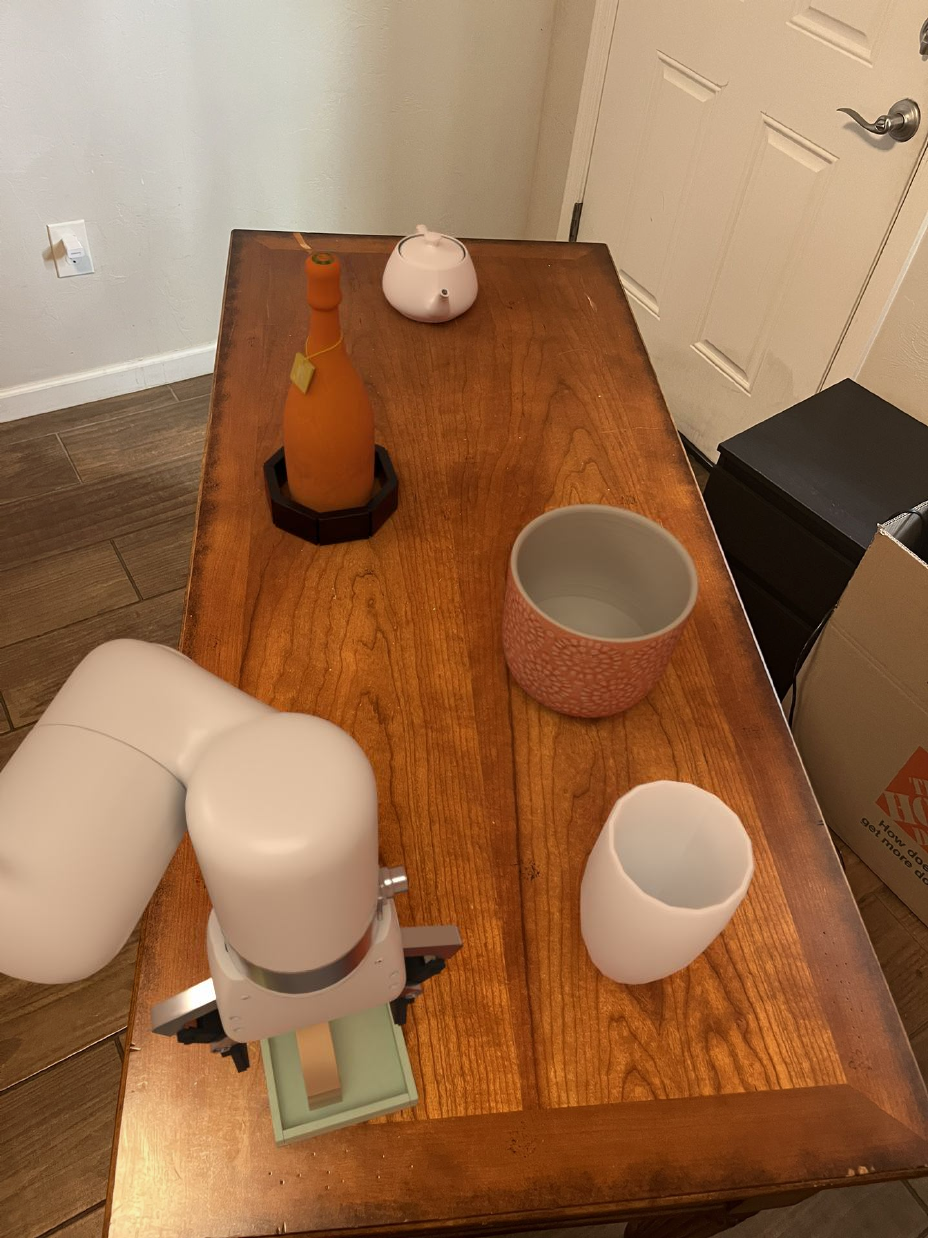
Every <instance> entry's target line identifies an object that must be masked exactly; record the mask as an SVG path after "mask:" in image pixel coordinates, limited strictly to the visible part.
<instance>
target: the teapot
mask: <svg viewBox="0 0 928 1238" xmlns="http://www.w3.org/2000/svg"><path fill="white" fill-rule="evenodd" d="M382 291H383V294H384V296H385V298H386V300H387V301H388V302H389V304H390V305H391V306H392V307H393V308H394V309H395V310H397V311H398V312H399V313H400V314H402V315H403V316H404V317H406V318H409V319H410V320H413V321H416V322H421V323H431V324H432V323H435V324H436V323H443V322H448V321H450V320H453V319H455V318H457V317H458V316H460V315H462V314H463V313H465V312H466V311H468V309H470V308H471V307H472V306H473V304H474V302H475V301H476V299H477V296H478V291H479V284H478V277H477V273H476V269H475V265H474V263H473V261H472V258H471V255H470V253H469V251H468V249H467V247H466V245H465V244H464V243H463V242H462V241H460V240H458V239H457V238H455V237H453V236H450V235H447V234H443V233H439V232H437V231H430V230H429V229H428V227H427V225H425V224H421V223H420V224H418V225H416V226H415V233H412V234H409V235H407V236H405V237H403V238H402V239H400V240H399V241H398V243H397V244H396V246H395V247H394V249H393V251H392V253H391V254H390V256H389V259H388V260H387V263H386V265H385V267H384V270H383V275H382Z"/></svg>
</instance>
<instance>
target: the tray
mask: <svg viewBox="0 0 928 1238" xmlns="http://www.w3.org/2000/svg"><path fill="white" fill-rule="evenodd" d="M328 1022H329V1027H330V1032H331V1037H332V1042H333V1047H334V1052H335V1057H336V1062H337V1067H338V1072H339V1077H340V1082H341V1088H342V1102H339V1103H336V1104H332V1105H329V1106H326V1107H322V1108H319V1109H316V1110H312V1111H310V1110H309V1105H308V1100H307V1094H306V1089H305V1083H304V1077H303V1072H302V1066H301V1061H300V1055H299V1049H298V1044H297V1038H296V1032H295V1031H292V1032H288V1033H285V1034H281V1035H277V1036H274V1037H270V1038H266V1039H262V1040H259V1045H260V1051H261V1059H262V1064H263V1069H264V1076H265V1082H266V1083H265V1084H266V1091H267V1096H268V1102H269V1110H270V1116H271V1122H272V1128H273V1135H274V1143H275V1145H276V1148H277V1149H279V1148H282V1147H285V1146H288V1145H293V1144H295V1143H299V1142H301V1141H305V1140H309V1139H312V1138H315V1137H318V1136H321V1135H324V1134H328V1133H332V1132H334V1131H337V1130H341V1129H344V1128H347V1127H350V1126H354V1125H357V1124H360V1123H364V1122H367V1121H370V1120H373V1119H377V1118H379V1117H384V1116H386V1115H390V1114H393V1113H396V1112H400V1111H403V1110H406V1109H409V1108H413V1107H416V1106H418V1103H419V1094H418V1091H417V1086H416V1082H415V1077H414V1073H413V1069H412V1066H411V1061H410V1058H409V1053H408V1050H407V1045H406V1041H405V1036H404V1032H403V1029H402V1025H401V1026H398V1024H396V1025H395V1024H394V1021H393V1016H392V1012H391V1008H390V1004H389V1002H388V1003H386V1004H383V1005H380V1006H377V1007H374V1008H371V1009H368V1010H364V1011H361V1012H358V1013H354V1014H351V1015H348V1016H344V1017H341V1018H337V1019H334V1020H331V1021H328Z"/></svg>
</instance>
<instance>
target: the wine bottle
mask: <svg viewBox="0 0 928 1238" xmlns="http://www.w3.org/2000/svg"><path fill="white" fill-rule="evenodd" d="M304 271H305V274H306V283H307V291H306V301H307V304H308V306H309V307H310V328H309V333H308V337H307V338H306V341H305V353H304V355H303V353H301V352H300V351H299V352H296V354H295V357H294V359H293V360H294V361H293V365H292V368H291V371H290V375H289V379H290V380H291V382H292V383H291V384H290V387H289V389H288V393H287V395H286V399H285V404H284V408H283V413H282V414H283V415H282V435H283V436H282V437H283V445H284V450H285V460H286V469H287V477H288V481H287V484H288V492H289V495H290V500H293V501H295V502H297V503H299V504H302V505H304V506H306V507H308V508H310V509H313V510H315V511H317V512H319V513H320V512H327V511H334V510H341V509H348V508H355V507H362V506H365V505H366V504H367V503H368V502H369V501H370V500H371V498H372V497H373V494H374V482H375V481H374V479H375V477H374V459H375V444H376V427H375V417H374V416H375V415H374V410H373V406H372V402H371V400H370V396H369V394H368V391H367V389H366V387H365V385H364V382H363V381H362V379H361V377H360V374H359V372H358V371H357V370H356V368H355V366H354V364H353V362H352V360H351V359H350V356H349V354H348V352H347V347H346V343H345V337H344V335H343V331H342V330H341V324H340V323H341V322H340V313H339V312H340V311H339V310H340V309H339V306H340V304H342V302H343V292H342V290H341V274H342V264H341V262H340V260H339V258H338V257H337V256H336V255H334V254H332V253H329V252H316V253H313V254H311V255H309V256H308V257H306V260H305V263H304Z"/></svg>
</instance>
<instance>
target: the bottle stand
mask: <svg viewBox="0 0 928 1238" xmlns="http://www.w3.org/2000/svg"><path fill="white" fill-rule="evenodd" d="M262 469H263V471H262V472H263V480H264V491H265V495H266V500H267V504H268V509H269V512H270V516H271V521H272V524H273V525H274V526H275V528H278V529H279V530H282V531H284V532H286V533H289V534H291V535H292V536H295V537H297V538H299V539H301V540H304V541H306V542H308V543H310V544H312V545H315V546H317V547H318V545H319V547H322V546H330V545H336V544H343V543H349V542H350V543H351V542H355V541H356V542H357V541H363V540H368V539H370V538H373V537H374V536H375V534H376V533H377V532H378V531H379V530H380V529H381V528H382V526H384V524H385V523H386V522H387V521H388V520H389V519H390V518H391V516H392V515H394V514H395V512H396V511H397V510H398V506H399V488H400V487H399V483H400V480H399V478H398V475H397V472H396V469H395V467H394V463H393V462H392V459H391V456H390V454H389V451H388V449H386V447H384V446H382V445H380V444H377V443H375V459H374V478H376V479H377V481H378V483H379V487H380V489H379V490H378V491H377V492H376V493H375V494H374V495H372V498H371V500H370V501H369V502H368V503H367V504H366V505H365V506H362V507H355V508H348V509H341V510H334V511H327V512H320V513H319V512H317V511H315V510H313V509H310V508H308V507H306V506H304V505H302V504H299V503H297V502H295V501H293V500H291V498H288V497H286V496H284V495H282V493H281V488H282V487H283V486H284V485H285V484H286V483H288V477H287V469H286V460H285V450H284V444H283V445H282V446H281V447H280V448H278V450H277V451H276V452H275V453H273V454H272V455H271V456H270V457H268V459H267V460H266V461H264V462H263V465H262Z"/></svg>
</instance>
